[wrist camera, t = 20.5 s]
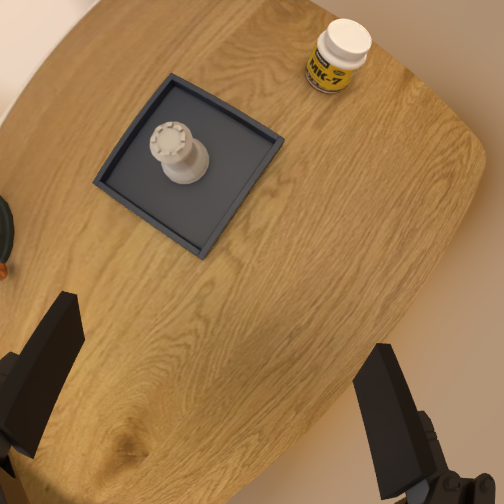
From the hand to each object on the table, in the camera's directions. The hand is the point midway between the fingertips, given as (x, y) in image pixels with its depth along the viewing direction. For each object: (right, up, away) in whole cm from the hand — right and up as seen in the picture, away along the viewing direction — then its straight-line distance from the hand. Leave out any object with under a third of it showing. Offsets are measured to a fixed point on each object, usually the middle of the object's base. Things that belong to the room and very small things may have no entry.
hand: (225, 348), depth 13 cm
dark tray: (-5, +13, +17) cm, 21 cm away
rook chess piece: (-5, +12, +16) cm, 21 cm away
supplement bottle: (+9, +23, +17) cm, 30 cm away
